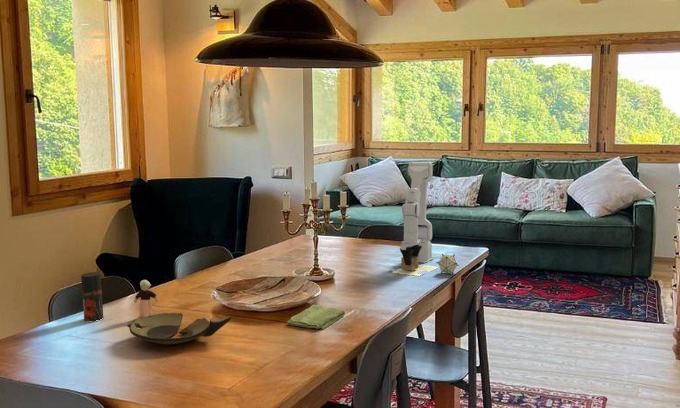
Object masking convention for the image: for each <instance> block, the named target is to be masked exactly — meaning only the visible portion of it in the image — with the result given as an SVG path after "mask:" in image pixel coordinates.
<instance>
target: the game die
mask: <svg viewBox="0 0 680 408" xmlns="http://www.w3.org/2000/svg"><path fill="white" fill-rule="evenodd" d="M436 264H438V266H439V269H440V271H441V272H440V275H442V274H444V273H445V274H448V273H449V274H452V275H454V271H455V269H456V268H457V267H459V266H460V265H459V264H458V263H457V261H456V258H455V253H454V254H453V255H447V254H445V255H444V253H441V257H440V258H439V261H436Z"/></svg>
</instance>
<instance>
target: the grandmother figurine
mask: <svg viewBox="0 0 680 408" xmlns="http://www.w3.org/2000/svg"><path fill="white" fill-rule="evenodd" d="M139 285H140V286H139V287H140V289H141V290H139V292H137V293H136V295H135V297H134V300H133V303H135V304H136V303H137V302H138V301H139V315H138V317H137V319H138V318H139V319H140V318H143V317H147V316H151V315H153V314H152V313H153V312H152V311H153V309H152V306H153V305H152V299H154V301H155V302H158V301H159V299H158V296H157V294H156V293H155V292H153V291H152V290H149V289H150V287H151V283H150V282H149V281H148V280H147V279H143V280H141V281H140V282H139ZM151 298H152V299H151ZM139 299H140V300H139Z"/></svg>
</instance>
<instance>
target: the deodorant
mask: <svg viewBox="0 0 680 408" xmlns="http://www.w3.org/2000/svg"><path fill="white" fill-rule="evenodd" d="M80 277H81V279H80V280H81V291H82V292H81V293H82V306H83V307H82V309H83V319H84V320H86V321H96V320H100V319H102V318H103V319H104V306H103V290H102V277H101V273H100V272H93V271H91V272H85V273H82V274H80ZM103 319H102V320H103ZM86 321H85V322H86ZM100 321H101V320H100ZM96 322H97V321H96Z"/></svg>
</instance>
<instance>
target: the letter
mask: <svg viewBox="0 0 680 408" xmlns="http://www.w3.org/2000/svg"><path fill="white" fill-rule="evenodd" d="M425 267H426V268H425ZM422 268H423V269H422ZM438 268H439V269H440V266H439V267H438V266H432V265H424V264H418V268H417V269H415V270H413V271H411V270H402V267H401V268H398V269H396V270H394V271H391V273H392V274H398V273H399V275H405V274H406V275H407V276H413V275H414V276H416V277H421V276H422V275H421V274H420V273H421V272H422V271H425V270H426V271H428V273H430V272H432V271H434V270H436V269H438ZM420 271H421V272H420ZM419 272H420V273H419ZM418 273H419V274H418ZM420 275H421V276H420Z"/></svg>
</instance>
